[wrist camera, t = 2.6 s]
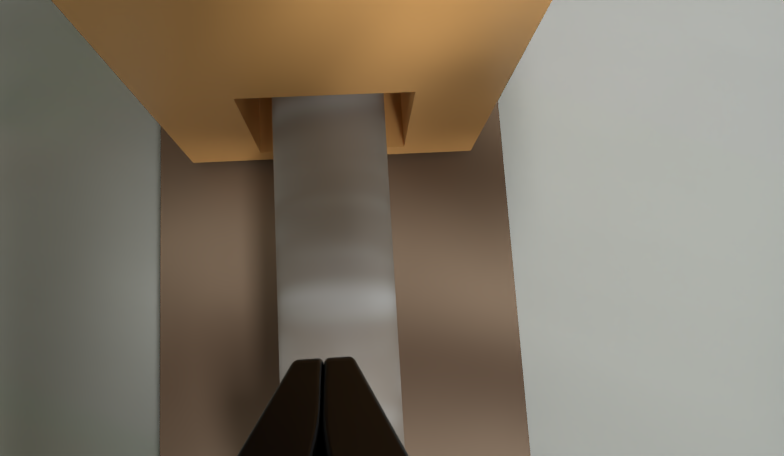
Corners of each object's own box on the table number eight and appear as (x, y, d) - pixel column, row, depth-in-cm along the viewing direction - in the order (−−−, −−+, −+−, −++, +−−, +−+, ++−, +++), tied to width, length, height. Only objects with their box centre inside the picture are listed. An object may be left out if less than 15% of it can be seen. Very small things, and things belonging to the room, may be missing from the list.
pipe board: (533, 579, 19) (619, 691, 13) (169, 607, 18) (69, 741, 12) (465, -177, 23) (504, -374, 17) (170, -172, 23) (97, -374, 16)
